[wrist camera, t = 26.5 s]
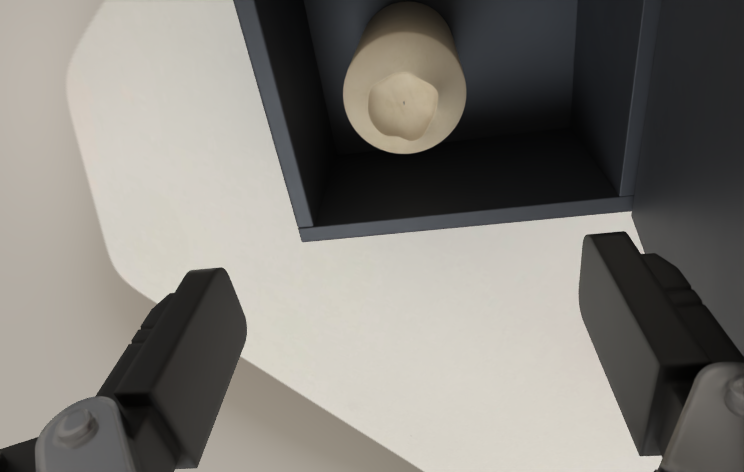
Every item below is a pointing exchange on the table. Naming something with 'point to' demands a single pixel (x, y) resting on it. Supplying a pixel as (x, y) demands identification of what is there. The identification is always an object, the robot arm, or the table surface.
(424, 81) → the candle
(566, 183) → the dark grey open box
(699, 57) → the dark grey box lid
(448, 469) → the table surface
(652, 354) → the robot arm
